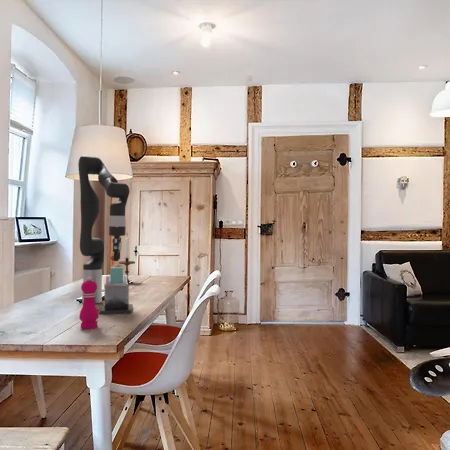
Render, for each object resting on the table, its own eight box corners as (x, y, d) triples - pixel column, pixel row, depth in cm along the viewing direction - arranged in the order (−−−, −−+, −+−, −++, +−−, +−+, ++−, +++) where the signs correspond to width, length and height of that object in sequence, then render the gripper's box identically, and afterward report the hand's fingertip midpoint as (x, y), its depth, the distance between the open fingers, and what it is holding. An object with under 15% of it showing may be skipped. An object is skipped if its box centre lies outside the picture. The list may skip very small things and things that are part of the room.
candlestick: (132, 284, 279) (133, 232, 278) (116, 283, 279) (117, 231, 279) (136, 281, 289) (136, 231, 289) (121, 281, 290) (121, 231, 289)
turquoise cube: (110, 283, 192) (110, 268, 192) (111, 281, 197) (111, 267, 197) (122, 283, 193) (122, 268, 193) (123, 281, 198) (123, 266, 198)
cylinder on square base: (99, 314, 186) (99, 277, 186) (103, 307, 200) (103, 274, 200) (131, 313, 189) (131, 277, 189) (132, 307, 203) (132, 273, 203)
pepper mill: (87, 330, 159) (88, 278, 159) (75, 327, 163) (75, 276, 162) (102, 326, 165) (102, 276, 165) (90, 324, 169) (90, 274, 169)
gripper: (110, 225, 201) (110, 258, 201) (107, 225, 187) (106, 261, 187) (126, 225, 202) (126, 258, 202) (124, 225, 188) (124, 261, 188)
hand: (116, 260), depth 194 cm, fingers open, 8 cm apart
